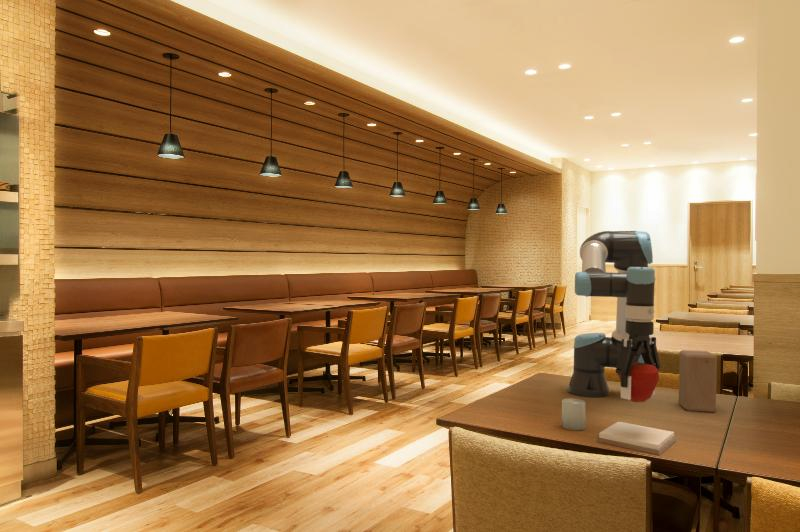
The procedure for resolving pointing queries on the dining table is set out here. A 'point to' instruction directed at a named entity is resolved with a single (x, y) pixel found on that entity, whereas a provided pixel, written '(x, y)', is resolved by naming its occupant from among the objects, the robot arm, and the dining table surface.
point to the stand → (637, 437)
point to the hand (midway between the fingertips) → (637, 396)
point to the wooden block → (697, 380)
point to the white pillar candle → (573, 414)
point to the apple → (642, 381)
